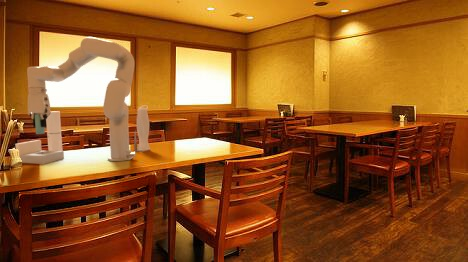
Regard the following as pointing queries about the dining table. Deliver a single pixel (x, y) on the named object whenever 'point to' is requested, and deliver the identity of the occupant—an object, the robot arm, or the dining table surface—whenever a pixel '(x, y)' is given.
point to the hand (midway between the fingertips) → (39, 126)
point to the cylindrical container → (54, 131)
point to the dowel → (39, 125)
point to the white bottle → (142, 130)
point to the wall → (28, 147)
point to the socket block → (42, 156)
